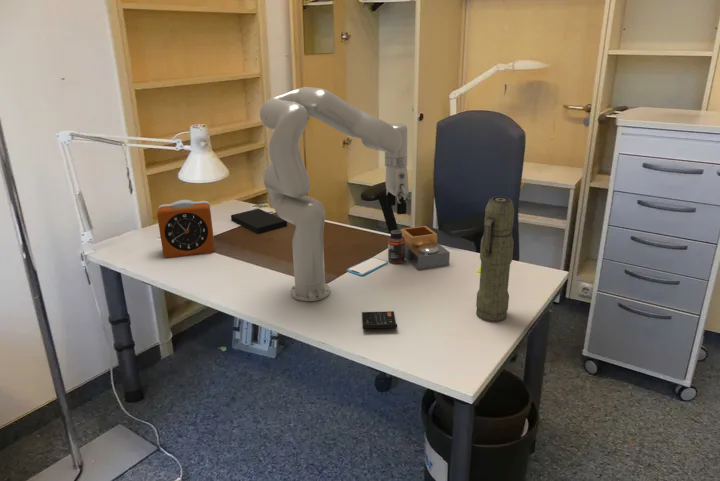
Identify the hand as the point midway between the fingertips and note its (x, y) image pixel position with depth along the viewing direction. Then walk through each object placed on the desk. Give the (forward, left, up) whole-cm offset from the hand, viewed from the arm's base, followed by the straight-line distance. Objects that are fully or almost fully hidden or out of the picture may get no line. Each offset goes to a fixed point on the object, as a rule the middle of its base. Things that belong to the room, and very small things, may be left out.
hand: (396, 209), depth 189 cm
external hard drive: (+59, +40, -20) cm, 74 cm away
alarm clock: (+36, +70, -20) cm, 81 cm away
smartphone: (-1, +11, -20) cm, 23 cm away
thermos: (-46, -11, -20) cm, 51 cm away
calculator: (-39, +21, -20) cm, 49 cm away
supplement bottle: (0, 0, -20) cm, 20 cm away
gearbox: (0, -10, -19) cm, 22 cm away
